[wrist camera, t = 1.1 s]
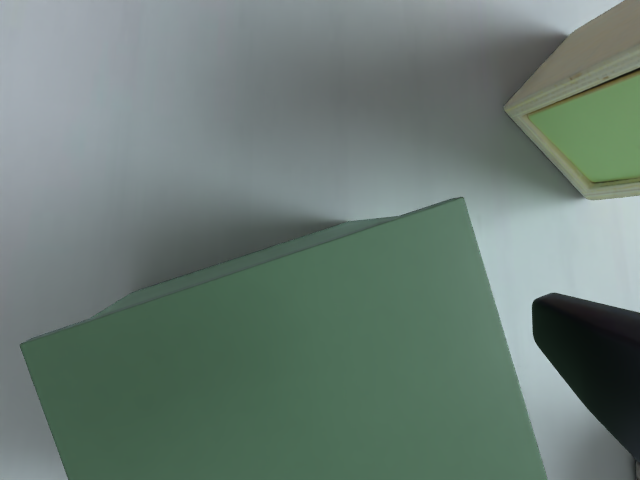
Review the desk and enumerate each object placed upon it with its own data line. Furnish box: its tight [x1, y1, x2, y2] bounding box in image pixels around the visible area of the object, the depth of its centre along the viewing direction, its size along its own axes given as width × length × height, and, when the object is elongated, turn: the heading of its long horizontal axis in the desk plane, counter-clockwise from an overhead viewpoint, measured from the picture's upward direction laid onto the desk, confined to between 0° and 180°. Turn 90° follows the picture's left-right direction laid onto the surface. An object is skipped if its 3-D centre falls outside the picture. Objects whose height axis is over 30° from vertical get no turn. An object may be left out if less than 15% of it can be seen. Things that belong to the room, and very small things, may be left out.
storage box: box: [20, 197, 548, 480], centre depth 21 cm, size 11×13×13 cm
